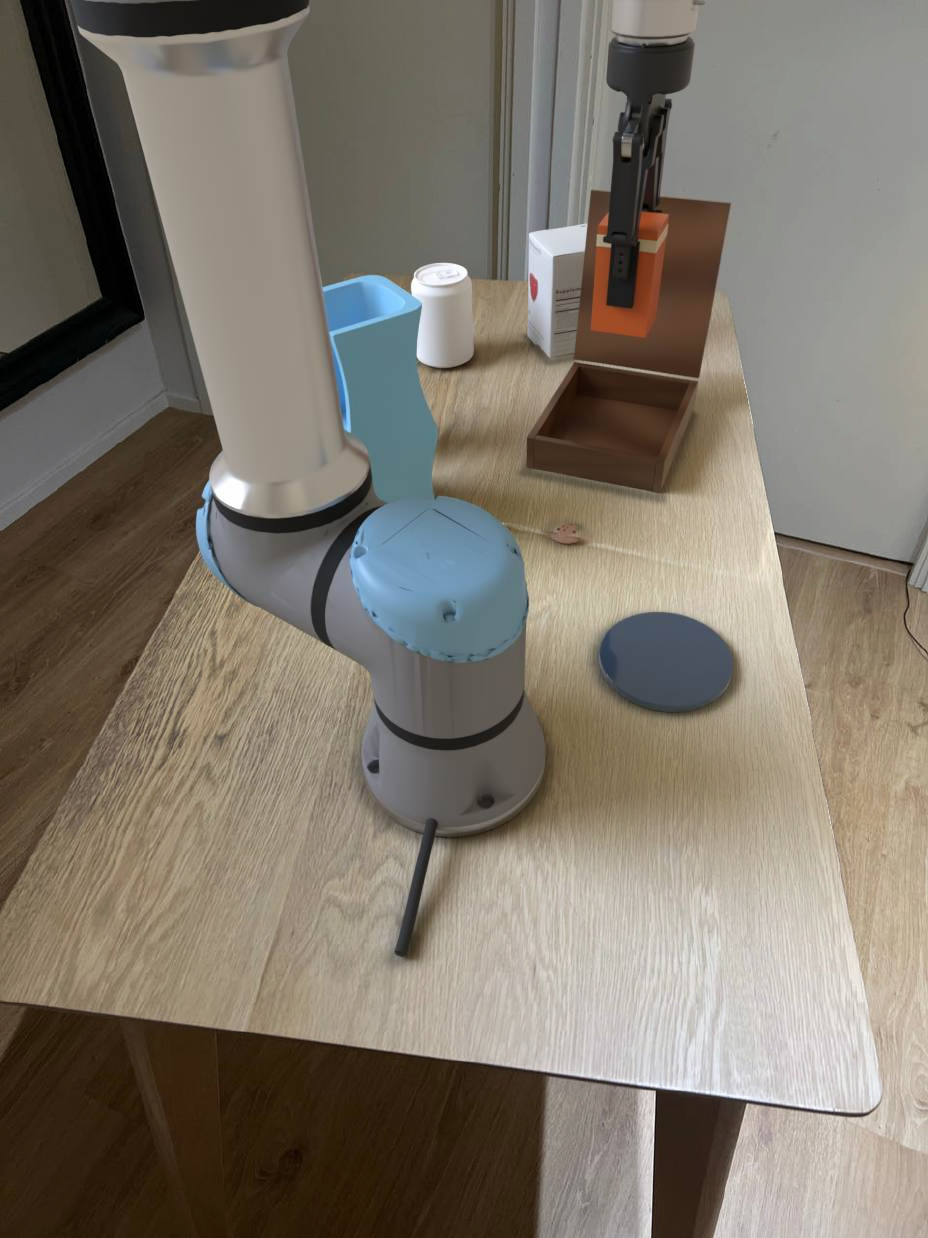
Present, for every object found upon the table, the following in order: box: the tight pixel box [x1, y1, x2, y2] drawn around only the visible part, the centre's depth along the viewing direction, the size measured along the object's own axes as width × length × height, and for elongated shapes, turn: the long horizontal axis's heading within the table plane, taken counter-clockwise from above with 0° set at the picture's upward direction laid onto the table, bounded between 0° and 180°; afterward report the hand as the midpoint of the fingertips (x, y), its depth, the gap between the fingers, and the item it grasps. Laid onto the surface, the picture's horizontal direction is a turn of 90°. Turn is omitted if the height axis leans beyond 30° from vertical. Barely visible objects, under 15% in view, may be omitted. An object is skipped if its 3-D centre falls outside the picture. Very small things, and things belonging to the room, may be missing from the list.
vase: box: [322, 274, 439, 503], centre depth 90 cm, size 10×10×25 cm
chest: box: [525, 361, 699, 494], centre depth 106 cm, size 19×16×5 cm
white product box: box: [527, 222, 588, 358], centre depth 122 cm, size 9×9×15 cm
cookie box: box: [591, 212, 669, 338], centre depth 93 cm, size 5×6×11 cm
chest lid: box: [573, 188, 732, 379], centre depth 107 cm, size 20×16×5 cm
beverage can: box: [410, 262, 475, 369], centre depth 121 cm, size 8×8×12 cm
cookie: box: [547, 523, 583, 545], centre depth 95 cm, size 4×4×1 cm
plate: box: [598, 611, 734, 713], centre depth 81 cm, size 12×12×1 cm
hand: (626, 293), depth 94 cm, fingers closed on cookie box, 5 cm apart
